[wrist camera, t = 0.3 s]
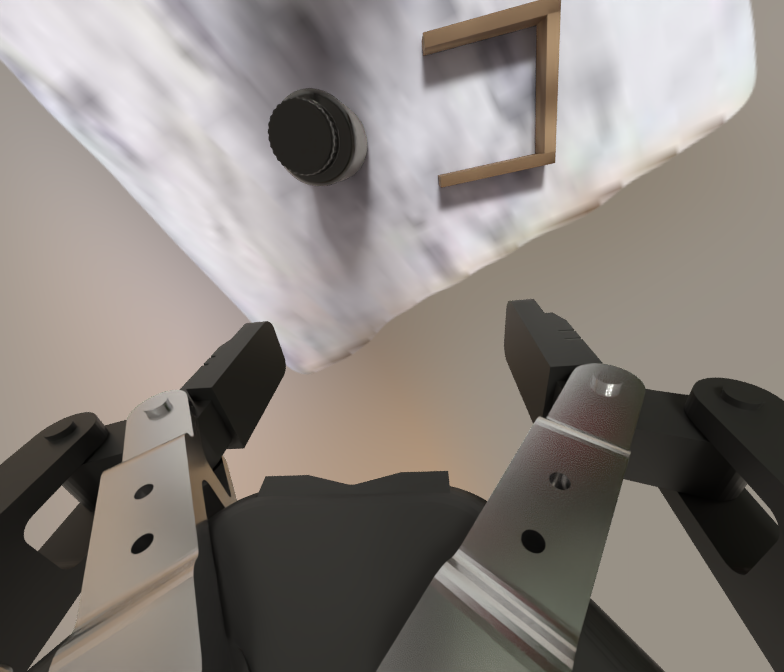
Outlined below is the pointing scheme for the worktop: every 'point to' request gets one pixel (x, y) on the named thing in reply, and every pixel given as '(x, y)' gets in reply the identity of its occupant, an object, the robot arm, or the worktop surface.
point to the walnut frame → (547, 65)
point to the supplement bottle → (317, 137)
